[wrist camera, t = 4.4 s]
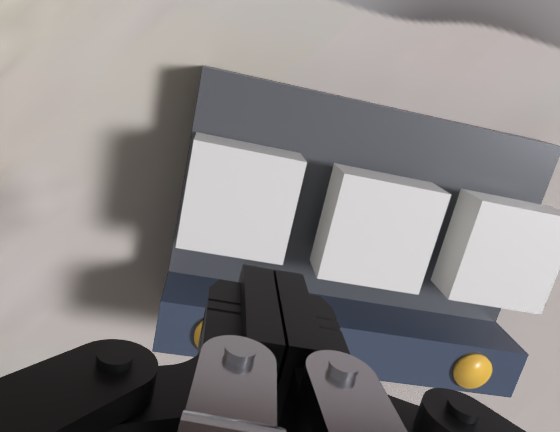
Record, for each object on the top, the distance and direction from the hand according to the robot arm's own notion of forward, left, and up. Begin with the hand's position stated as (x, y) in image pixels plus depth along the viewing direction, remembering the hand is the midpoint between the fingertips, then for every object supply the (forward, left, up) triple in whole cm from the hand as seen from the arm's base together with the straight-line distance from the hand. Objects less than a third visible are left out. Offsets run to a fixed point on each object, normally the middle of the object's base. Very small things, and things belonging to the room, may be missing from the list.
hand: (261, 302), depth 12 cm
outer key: (0, 0, -11) cm, 11 cm away
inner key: (-11, -3, -10) cm, 15 cm away
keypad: (-6, 0, -13) cm, 14 cm away
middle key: (-6, -1, -10) cm, 11 cm away
